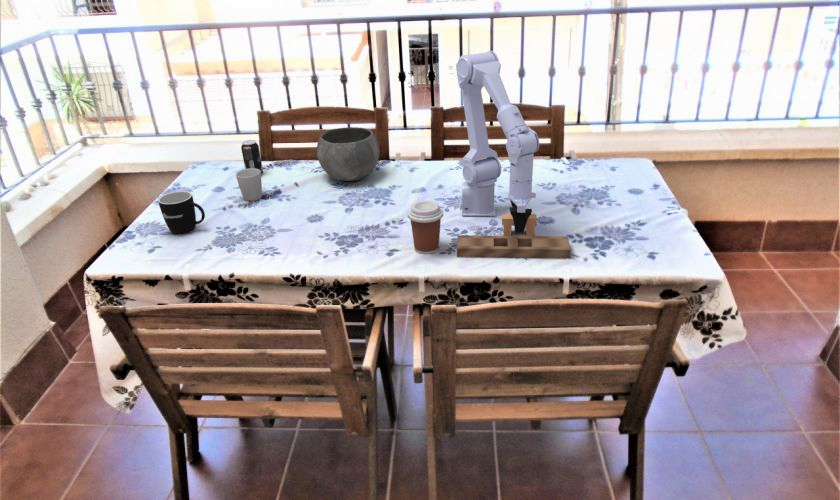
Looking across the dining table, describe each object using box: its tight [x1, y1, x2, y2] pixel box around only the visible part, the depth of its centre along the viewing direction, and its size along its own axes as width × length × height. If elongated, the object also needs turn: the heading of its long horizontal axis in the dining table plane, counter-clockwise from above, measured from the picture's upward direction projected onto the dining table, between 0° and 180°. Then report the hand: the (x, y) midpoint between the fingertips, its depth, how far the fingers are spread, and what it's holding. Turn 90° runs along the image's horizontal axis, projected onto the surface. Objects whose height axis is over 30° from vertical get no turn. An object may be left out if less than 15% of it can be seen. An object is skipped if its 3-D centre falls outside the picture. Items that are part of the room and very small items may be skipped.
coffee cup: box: [407, 200, 444, 255], centre depth 152 cm, size 9×9×12 cm
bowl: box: [316, 126, 381, 182], centre depth 198 cm, size 20×20×15 cm
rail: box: [456, 234, 572, 259], centre depth 152 cm, size 28×7×2 cm, turn 84°
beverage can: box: [240, 139, 264, 175], centre depth 204 cm, size 6×6×12 cm
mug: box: [158, 190, 206, 235], centre depth 168 cm, size 12×9×10 cm
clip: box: [501, 213, 538, 236], centre depth 160 cm, size 9×3×5 cm, turn 84°
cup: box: [235, 168, 263, 202], centre depth 188 cm, size 8×10×8 cm
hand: (518, 225), depth 160 cm, fingers open, 7 cm apart
